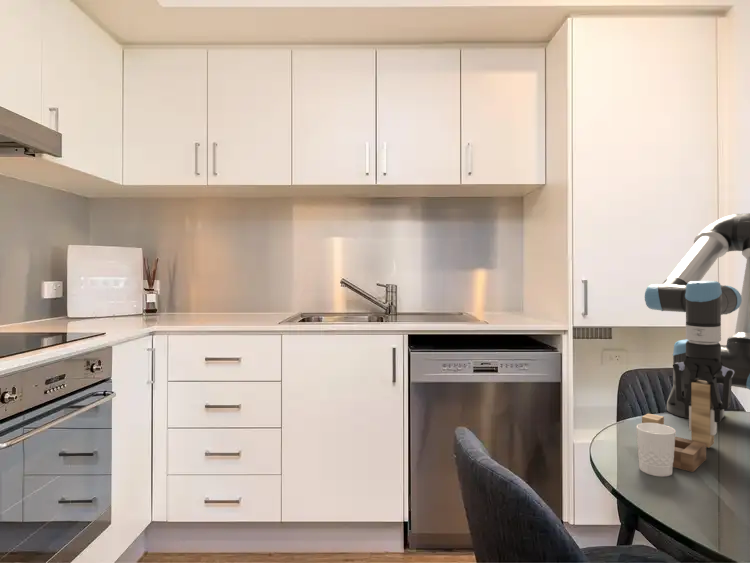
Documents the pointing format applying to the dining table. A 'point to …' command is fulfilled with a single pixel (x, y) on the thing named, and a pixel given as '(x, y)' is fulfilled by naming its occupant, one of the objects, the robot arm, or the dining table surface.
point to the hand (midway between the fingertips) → (702, 431)
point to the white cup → (656, 448)
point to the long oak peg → (701, 412)
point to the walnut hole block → (688, 454)
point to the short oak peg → (653, 419)
